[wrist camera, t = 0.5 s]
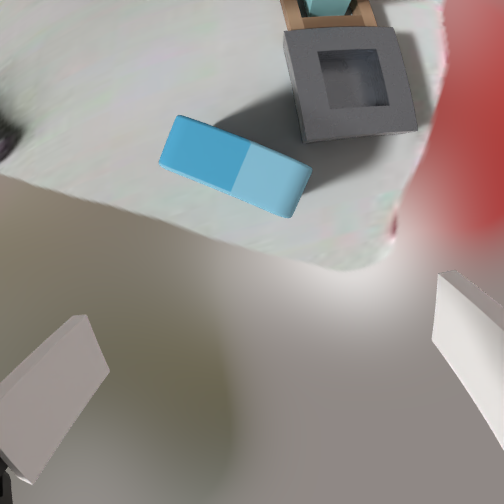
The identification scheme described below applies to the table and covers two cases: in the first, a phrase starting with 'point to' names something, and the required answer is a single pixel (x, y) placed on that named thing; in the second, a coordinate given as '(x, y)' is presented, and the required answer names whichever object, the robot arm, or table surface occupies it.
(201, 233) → the table surface
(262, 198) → the data package
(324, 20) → the square wooden frame
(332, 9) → the plug
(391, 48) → the port block
